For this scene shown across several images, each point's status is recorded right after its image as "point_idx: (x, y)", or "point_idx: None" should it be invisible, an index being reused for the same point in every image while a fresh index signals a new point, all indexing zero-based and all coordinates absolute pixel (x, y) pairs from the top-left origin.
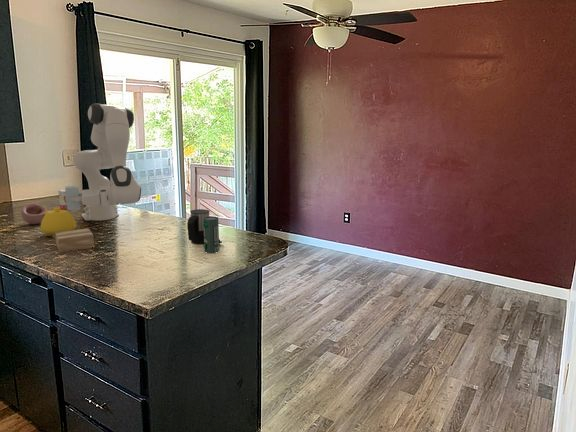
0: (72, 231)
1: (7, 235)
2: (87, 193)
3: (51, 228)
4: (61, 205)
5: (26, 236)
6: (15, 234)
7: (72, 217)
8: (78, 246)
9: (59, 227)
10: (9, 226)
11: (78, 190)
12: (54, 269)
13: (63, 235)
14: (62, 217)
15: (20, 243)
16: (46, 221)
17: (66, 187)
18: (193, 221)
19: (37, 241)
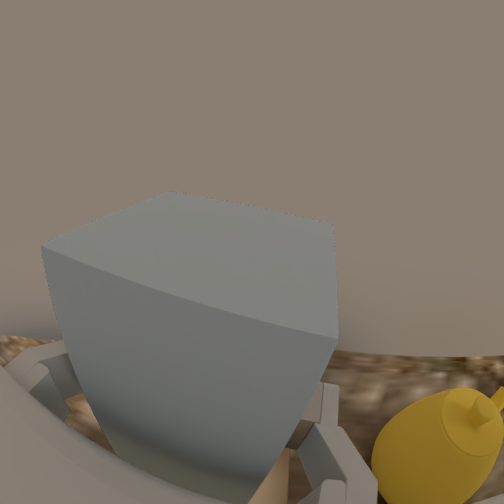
0: (254, 497)
1: (433, 361)
2: (10, 488)
3: (382, 434)
4: None
5: (418, 393)
6: (440, 373)
7: (455, 491)
8: None
9: (381, 459)
10: (497, 362)
11: (260, 422)
12: (24, 346)
13: None
14: (426, 452)
15: (345, 378)
16: (414, 405)
17: (189, 198)
18: None
19: (350, 415)
